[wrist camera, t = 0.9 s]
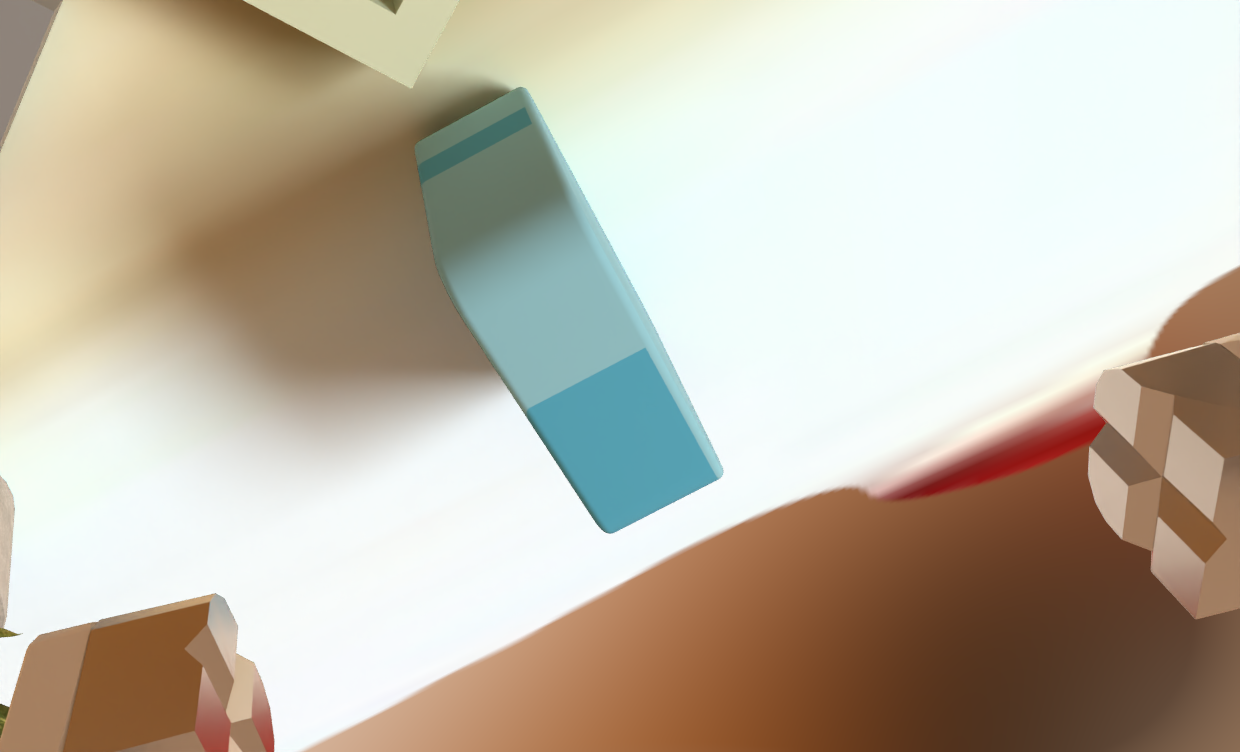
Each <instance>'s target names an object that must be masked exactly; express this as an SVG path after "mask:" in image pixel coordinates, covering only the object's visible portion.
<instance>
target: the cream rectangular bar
mask: <svg viewBox="0 0 1240 752" xmlns="http://www.w3.org/2000/svg"><path fill="white" fill-rule="evenodd" d="M243 1H245V2H247V3H249V4H251V5H253V6H255V7H256V8H258V9H260V10H262V11H264V12H266V13H268V14H270V15H272V16H274V17H275V18H277V19H279V20H281V21H283V22H285V23H287V24H289V25H291V26H293V27H294V28H296V29H298V30H300V31H302V32H304V33H306V34H308V35H310V36H312V37H313V38H315V39H317V40H319V41H321V42H323V43H325V44H327V45H329V46H331V47H332V48H334V49H336V50H338V51H340V52H342V53H344V54H346V55H348V56H350V57H351V58H353V59H355V60H357V61H359V62H361V63H363V64H365V65H367V66H369V67H371V68H372V69H374V70H376V71H378V72H380V73H382V74H384V75H386V76H388V77H390V78H391V79H393V80H395V81H397V82H399V83H401V84H403V85H405V86H407V87H409V88H410V89H412V87H413V85H414V83H415V81H416V79H417V78H418V76H419V74H420V72H421V70H422V68H423V67H424V65H425V63H426V61H427V59H428V57H429V56H430V54H431V52H432V50H433V48H434V46H435V45H436V43H437V41H438V39H439V37H440V35H441V34H442V32H443V30H444V28H445V26H446V24H447V23H448V21H449V19H450V17H451V15H452V13H453V12H454V10H455V8H456V6H457V4H458V2H459V0H243Z"/></svg>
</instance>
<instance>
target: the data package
mask: <svg viewBox="0 0 1240 752" xmlns="http://www.w3.org/2000/svg"><path fill="white" fill-rule="evenodd" d="M415 155H416V161H417V166H418V172H419V177H420V183H421V188H422V194H423V200H424V205H425V211H426V216H427V222H428V227H429V233H430V238H431V244H432V249H433V255H434V260H435V264H436V267H437V270H438V273H439V275H440V278H441V280H442V282H443V284H444V287H445V289H446V291H447V293H448V295H449V297H450V299H451V300H452V302H453V304H454V306H455V308H456V309H457V311H458V313H459V314H460V316H461V318H462V319H463V321H464V322H465V324H466V325H467V327H468V328H469V330H470V332H471V333H472V335H473V336H474V338H475V339H476V341H477V342H478V344H479V345H480V347H481V348H482V350H483V351H484V353H485V354H486V356H487V357H488V359H489V361H490V362H491V364H492V365H493V367H494V368H495V370H496V371H497V373H498V374H499V376H500V377H501V379H502V380H503V382H504V383H505V385H506V386H507V388H508V390H509V391H510V393H511V394H512V396H513V397H514V399H515V400H516V402H517V403H518V405H519V406H520V408H521V409H522V411H523V412H524V414H525V416H526V417H527V419H528V420H529V422H530V423H531V425H532V426H533V428H534V429H535V431H536V432H537V434H538V435H539V437H540V438H541V440H542V441H543V443H544V445H545V446H546V448H547V449H548V451H549V452H550V454H551V455H552V457H553V458H554V460H555V461H556V463H557V464H558V466H559V467H560V469H561V470H562V472H563V474H564V475H565V477H566V478H567V480H568V481H569V483H570V484H571V486H572V487H573V489H574V490H575V492H576V493H577V495H578V496H579V498H580V500H581V501H582V503H583V504H584V506H585V507H586V509H587V510H588V512H589V513H590V515H591V516H592V518H593V519H594V521H595V522H596V524H597V525H598V526H599V527H600V528H601V529H602V530H603V531H604V532H606V533H609V534H611V533H614V532H616V531H618V530H620V529H622V528H624V527H626V526H628V525H630V524H632V523H634V522H636V521H638V520H640V519H642V518H644V517H646V516H648V515H650V514H652V513H654V512H656V511H657V510H659V509H661V508H663V507H665V506H667V505H669V504H671V503H673V502H675V501H677V500H679V499H681V498H683V497H685V496H687V495H689V494H691V493H693V492H695V491H697V490H699V489H700V488H702V487H704V486H706V485H708V484H710V483H712V482H714V481H716V480H718V479H720V478H721V477H722V475H723V468H722V465H721V463H720V461H719V459H718V457H717V455H716V453H715V451H714V449H713V447H712V445H711V442H710V440H709V438H708V436H707V434H706V432H705V430H704V428H703V426H702V424H701V422H700V420H699V418H698V416H697V414H696V412H695V410H694V407H693V405H692V403H691V401H690V399H689V397H688V395H687V393H686V391H685V389H684V387H683V385H682V383H681V381H680V379H679V377H678V375H677V372H676V370H675V368H674V366H673V364H672V362H671V360H670V358H669V356H668V354H667V352H666V350H665V348H664V346H663V344H662V342H661V340H660V337H659V335H658V333H657V331H656V329H655V327H654V325H653V323H652V321H651V320H650V318H649V316H648V314H647V312H646V310H645V308H644V306H643V304H642V302H641V300H640V298H639V297H638V295H637V293H636V291H635V289H634V287H633V285H632V284H631V282H630V280H629V278H628V276H627V274H626V272H625V270H624V269H623V267H622V265H621V263H620V261H619V259H618V257H617V256H616V254H615V252H614V250H613V248H612V246H611V244H610V242H609V241H608V239H607V237H606V235H605V233H604V231H603V229H602V228H601V226H600V224H599V222H598V220H597V218H596V216H595V214H594V213H593V211H592V209H591V207H590V205H589V203H588V201H587V200H586V198H585V196H584V194H583V192H582V190H581V188H580V186H579V185H578V183H577V181H576V179H575V177H574V175H573V173H572V172H571V170H570V168H569V166H568V164H567V162H566V160H565V158H564V157H563V155H562V153H561V151H560V149H559V147H558V145H557V144H556V142H555V140H554V138H553V136H552V134H551V132H550V130H549V129H548V127H547V125H546V123H545V121H544V119H543V117H542V116H541V114H540V112H539V110H538V108H537V106H536V104H535V103H534V101H533V99H532V97H531V95H530V94H529V92H528V91H527V90H526V89H525V88H523V87H519V88H516V89H515V90H513V91H511V92H509V93H507V94H505V95H504V96H502V97H500V98H498V99H496V100H494V101H492V102H491V103H489V104H487V105H485V106H483V107H481V108H480V109H478V110H476V111H474V112H472V113H470V114H468V115H467V116H465V117H463V118H461V119H459V120H457V121H456V122H454V123H452V124H450V125H448V126H446V127H444V128H443V129H441V130H439V131H437V132H435V133H433V134H432V135H430V136H428V137H426V138H424V139H422V140H420V141H419V142H417V144H416V145H415Z"/></svg>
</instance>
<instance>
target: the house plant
mask: <svg viewBox="0 0 1240 752" xmlns="http://www.w3.org/2000/svg"><path fill="white" fill-rule="evenodd" d="M14 511H15V508H14V501H13V495H12V493H11V491H10V489H9V487H8V485H7V483H6V482H5V481H4V480H3V478H2V477H1V476H0V637H12V636H17V635H20V634H16V633H13V632H11V631H8V630H6V629H4V625H5V621H6V617H7V606H8V593H9V579H10V565H11V552H12V538H13V525H14ZM22 634H23V633H22ZM9 708H10V707H7V706H5V705H2V704H0V738H1V735H2V731H3V728H4V724H5V721H6V718H7V714H8V711H9Z"/></svg>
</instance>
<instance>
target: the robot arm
mask: <svg viewBox="0 0 1240 752" xmlns="http://www.w3.org/2000/svg"><path fill="white" fill-rule="evenodd" d="M1093 408H1094V409H1095V410H1096V411H1097V412H1098V413H1099V415H1100V416H1101V417H1102V418H1103V419H1104V420H1105V422H1106V424H1105V426H1104V427H1103V429H1102V430H1101V431H1100V433H1099V434H1098V435H1097V437H1096V438H1095V440H1094V441H1093V442H1092V444H1091V445H1090V449H1089V466H1088V467H1089V469H1088V477H1089V480H1090V484H1091V488H1092V492H1093V495H1094V499H1095V503H1096V504H1097V506H1098V508H1099V510H1100V511H1101V513H1102V515H1103V517H1104V519H1105V520H1106V521H1107V523H1108V524H1109V525H1110V526H1111V527H1112V529H1113V530H1114V531H1115V532H1116V533H1117V534H1118V536H1119V537H1120V538H1121V539H1122V540H1124V541H1127V542H1130V543H1132V544H1135V545H1138V546H1140V547H1143V548H1145V549H1148V550H1151V551H1152V557H1151V572H1152V573H1153V574H1154V575H1155V576H1156V577H1157V578H1158V579H1159V580H1160V581H1161V582H1162V584H1163V585H1164V586H1165V587H1166V588H1167V589H1168V590H1169V591H1170V592H1171V593H1172V594H1173V595H1174V596H1175V598H1176V599H1178V601H1179V602H1180V603H1181V604H1182V605H1183V606H1184V607H1185V608H1186V609H1187V610H1188V611H1189V613H1190V614H1191V615H1192V616H1193V617H1194V618H1195V619H1198V618H1203V617H1207V616H1211V615H1215V614H1219V613H1223V612H1227V611H1231V610H1235V609H1239V608H1240V333H1238V334H1234V335H1231V336H1227V337H1223V338H1220V339H1216V340H1213V341H1209V342H1205V343H1204V344H1203V345H1201V346H1196V347H1192V348H1189V349H1184V350H1180V351H1177V352H1173V353H1169V354H1165V355H1161V356H1157V357H1153V358H1149V359H1146V360H1142V361H1138V362H1134V363H1130V364H1126V365H1122V366H1118V367H1114V368H1111V369H1107V370H1104V371H1103V373H1102V375H1101V377H1100V379H1099V380H1098V382H1097V384H1096V390H1095V399H1094V407H1093ZM237 634H238V625H237V623H236V621H235V619H234V617H233V615H232V613H231V611H230V609H229V607H228V605H227V603H226V600H225V599H224V598H223V597H221V596H219V595H218V594H216V593H215V594H211V595H206V596H202V597H198V598H193V599H189V600H185V601H180V602H176V603H171V604H167V605H163V606H158V607H154V608H150V609H145V610H141V611H137V612H132V613H128V614H124V615H119V616H115V617H110V618H106V619H102V620H99V622H91V623H87V624H83V625H79V626H75V627H71V628H66V629H62V630H58V631H54V632H50V633H45V634H41V635H39V636H38V637H37V638H36V639H35V640H34V641H33V642H32V643H31V644H30V645H29V646H28V648H27V650H26V654H25V657H24V660H23V664H22V667H21V670H20V674H19V677H18V681H17V684H16V687H15V691H14V694H13V697H12V701H11V704H10V708H9V711H8V714H7V718H6V721H5V724H4V728H3V731H2V735H1V738H0V752H274V734H273V727H272V719H271V712H270V706H269V703H268V699H267V696H266V692H265V689H264V686H263V682H262V680H261V678H260V675H259V673H258V671H257V668H256V666H255V664H254V662H252V661H250V660H248V659H246V658H244V657H242V656H240V655H238V654H237V653H236V648H237Z"/></svg>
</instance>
